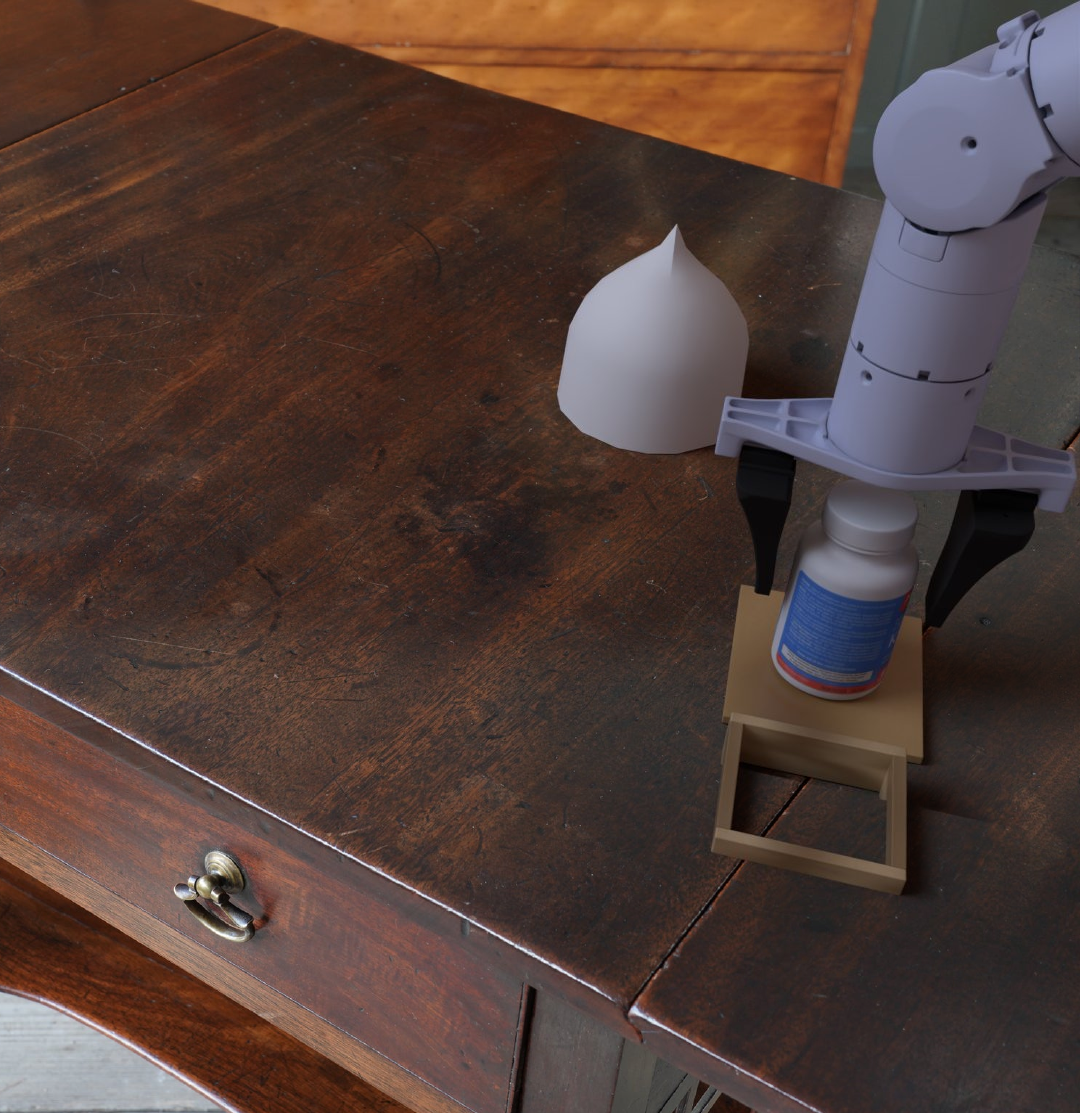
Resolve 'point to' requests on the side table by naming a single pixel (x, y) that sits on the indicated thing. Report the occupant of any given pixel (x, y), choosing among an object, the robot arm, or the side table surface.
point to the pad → (769, 696)
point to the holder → (819, 760)
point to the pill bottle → (848, 592)
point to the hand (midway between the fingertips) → (846, 597)
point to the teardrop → (654, 354)
